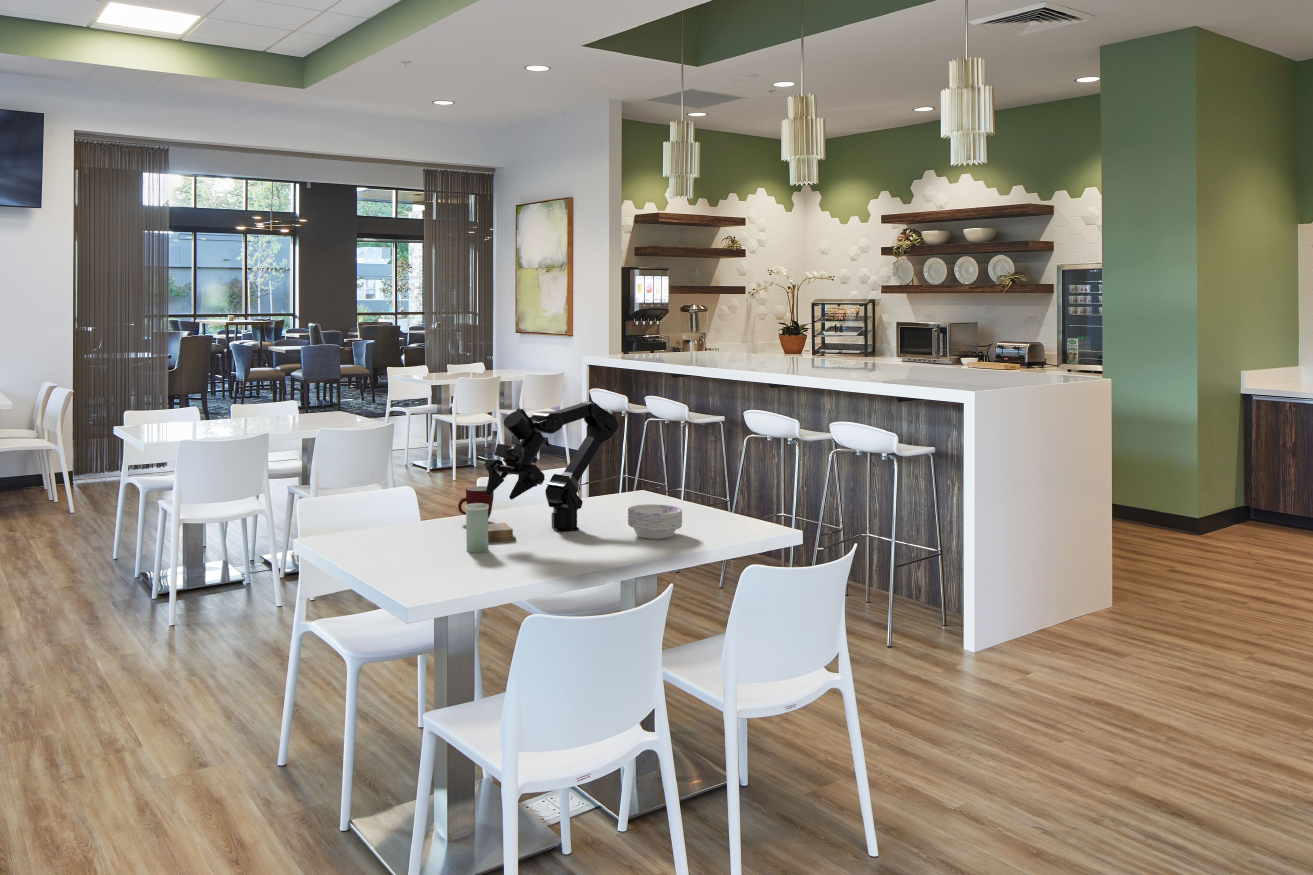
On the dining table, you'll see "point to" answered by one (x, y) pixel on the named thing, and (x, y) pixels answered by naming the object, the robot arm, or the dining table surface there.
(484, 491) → the mug
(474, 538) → the tumbler
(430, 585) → the dining table surface
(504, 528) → the pedestal
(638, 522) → the paper bowls
